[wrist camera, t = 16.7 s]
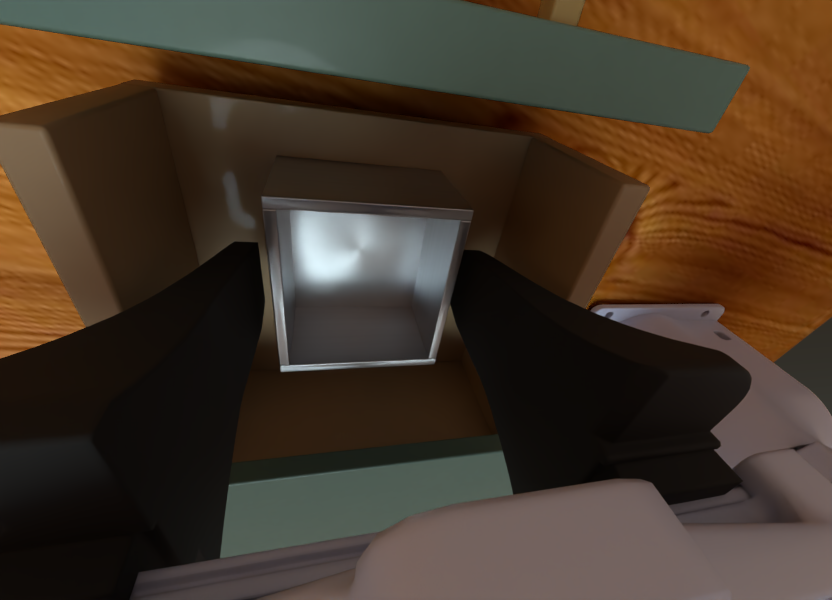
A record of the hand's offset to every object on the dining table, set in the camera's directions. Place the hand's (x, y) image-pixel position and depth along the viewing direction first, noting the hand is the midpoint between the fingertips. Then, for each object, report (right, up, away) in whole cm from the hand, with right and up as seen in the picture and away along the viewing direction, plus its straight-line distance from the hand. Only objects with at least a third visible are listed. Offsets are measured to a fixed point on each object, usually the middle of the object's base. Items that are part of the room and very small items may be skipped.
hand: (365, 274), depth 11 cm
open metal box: (0, +1, +1) cm, 2 cm away
